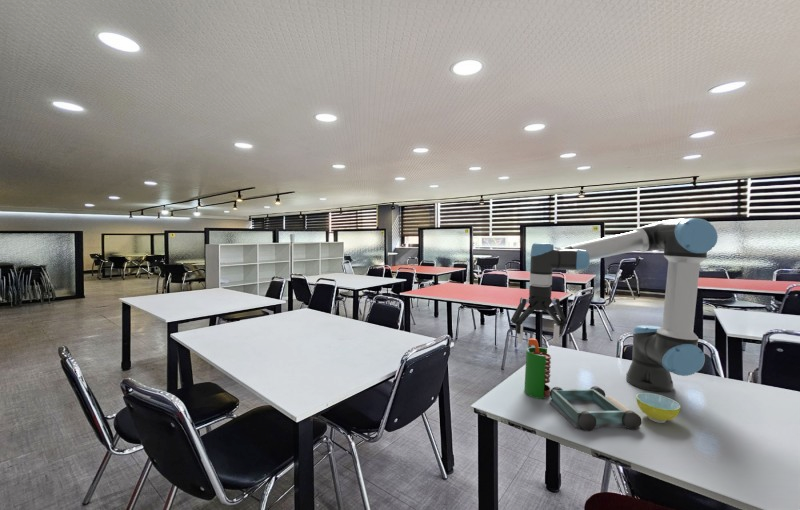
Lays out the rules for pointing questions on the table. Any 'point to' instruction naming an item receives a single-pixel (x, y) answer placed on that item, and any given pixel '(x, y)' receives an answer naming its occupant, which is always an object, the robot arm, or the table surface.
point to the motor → (537, 371)
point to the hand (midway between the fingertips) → (537, 342)
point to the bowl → (658, 407)
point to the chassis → (592, 409)
